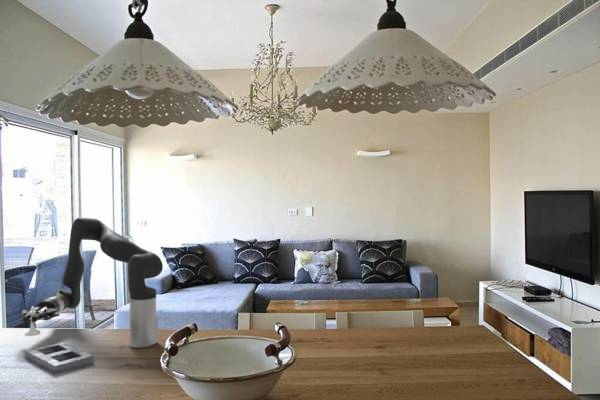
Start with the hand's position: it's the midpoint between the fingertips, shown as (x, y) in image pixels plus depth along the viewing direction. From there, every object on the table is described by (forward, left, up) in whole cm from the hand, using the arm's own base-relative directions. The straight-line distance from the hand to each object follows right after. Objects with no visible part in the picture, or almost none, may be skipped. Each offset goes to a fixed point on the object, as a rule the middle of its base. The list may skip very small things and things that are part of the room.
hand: (28, 319), depth 155 cm
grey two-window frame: (-2, +19, -11) cm, 22 cm away
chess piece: (-2, -2, -6) cm, 7 cm away
